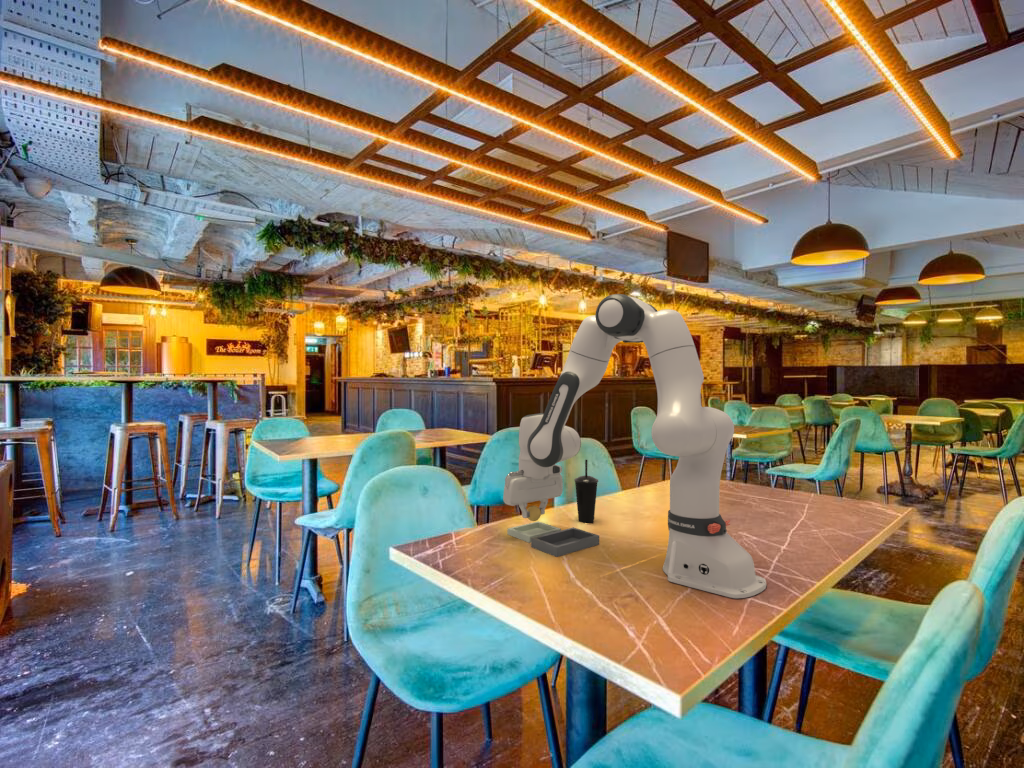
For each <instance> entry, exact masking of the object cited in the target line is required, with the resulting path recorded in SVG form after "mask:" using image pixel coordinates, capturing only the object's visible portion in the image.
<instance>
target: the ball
mask: <svg viewBox="0 0 1024 768" xmlns="http://www.w3.org/2000/svg"><path fill="white" fill-rule="evenodd" d="M526 509H527V511H529V512H530V517H529V518H527V519H528V520H529V521H530V522H537V521H538V520H539V519H540V517H541V516H542V515H541V511H540V509H539V506H536V505H530V506H529V507H528V506H527V508H526Z"/></svg>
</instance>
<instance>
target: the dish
mask: <svg viewBox="0 0 1024 768" xmlns="http://www.w3.org/2000/svg"><path fill="white" fill-rule="evenodd" d="M598 545H599V546H600V535H599V534H596V533H592V532H589V531H586V530H582V529H579V528H576V527H573V526H572V527H569V528H565V529H561V531H557V532H553V533H549V534H545V535H541V536H538V537H534V538H531V543H530V547H531V548H532V549H535V550H538V551H540V552H543V553H544V554H545V553H546V554H547V555H551V556H553V557H556V558H559V557H561V556H565V555H568V554H571V553H572V554H573V553H575V552H578V551H582V550H586V549H589V548H591V547H595V546H598Z"/></svg>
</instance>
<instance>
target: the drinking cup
mask: <svg viewBox="0 0 1024 768" xmlns="http://www.w3.org/2000/svg"><path fill="white" fill-rule="evenodd" d="M584 464H585V465H584V466H585V467H584V473H585V474H584V475H580V476H578V477H575V478H574V479H573V481H574V483H575V485H574V486H575V494H576V495H575V496H576V507H577V517H578V518H577V519H578V522H579V523H582V524H585V523H592V524H593V522H595V512H596V503H597V501H596V500H597V491H598V482H599V479H598V478H597V477H596V478H595V477H594V476H591V475H588V459H585V460H584Z"/></svg>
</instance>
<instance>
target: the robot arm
mask: <svg viewBox="0 0 1024 768" xmlns="http://www.w3.org/2000/svg"><path fill="white" fill-rule="evenodd" d="M689 329H690V328H689V327H688V325H687V323H686V321H685V320H684V317H683V316H682V314H681V313H680V312H678V311H677V310H675V309H660V310H658V309H657V308H655V307H654V306H653V305H652V304H650V303H646V302H645V301H643V300H641V299H640V298H637V297H635V296H630V295H627V294H624V293H623V294H621V293H615V294H614V293H613V294H609V295H608V296H607V295H606V296H605V297H604V298H603V299H601V301H600V302H599V303H598V305H597V307H596V310H595V314H594V315H589V316H587V317H585V318H584V319H583V320H582V321H581V324H580V325H579V327H578V329H577V331H576V333H575V336H574V337H573V339H572V344H571V346H570V349H569V351H568V354H567V358H566V361H565V363H564V366H563V368H562V371H561V373H560V375H559V377H558V380H557V382H556V384H555V385H554V388H553V390H552V393H551V395H550V397H549V399H548V402H547V405H546V406H545V407H546V408H545V410H544V412H542V413H541V412H540V413H534V414H527V415H525V416H523V417H522V418H521V420H520V423H519V431H518V447H519V451H520V452H519V455H518V470H516V471H510V472H509V473H508V474H507V475H506V476H505V478H504V488H503V496H502V497H503V498H502V499H503V503H504V504H505V505H508V506H512V507H513V506H518V507H519V508H520V511H521V516H522V518H523V519H528V518H529V517H530V512H529V511H527V509H528V503H534V502H538V501H539V502H540V504H539V506H538V508H539V509H540V511H541V516H543V515H545V512H546V508H547V506H548V503H549V499H554V498H559V497H561V496H562V494H563V489H564V486H563V485H564V483H563V476H562V472H563V467H562V466H561V465H559V464H558V463H562V462H565V461H567V460H569V459H571V458H574V457H576V456H577V455H578V453H579V452H580V450H581V445H582V441H581V440H582V439H581V437H580V434H579V433H578V431H577V429H574V428H573V427H571V426H568V425H566V423H567V421H568V419H569V416H570V414H571V411H572V408H573V406H574V404H575V403H576V401H578V399H579V398H580V397H581V396H582V395H584V394H585V393H586V392H588V391H590V390H592V389H594V388H595V387H597V386H598V385H599V384H600V382H601V380H602V379H603V377H604V375H605V373H606V371H607V368H608V365H609V362H610V358H611V356H612V352H613V350H614V348H615V347H616V345H618V343H620V342H623V343H624V344H627V343H628V344H631V343H632V344H633V343H637V344H641V343H644V345H645V349H646V352H647V355H648V359H649V363H650V366H651V370H652V374H653V378H654V382H655V386H656V393H657V394H656V395H657V410H656V411H657V412H656V413H657V414H656V417H655V420H654V422H653V423H652V427H651V438H652V439H651V440H652V442H653V444H654V446H655V447H656V448H657V450H659V451H660V452H661V453H663V454H664V455H668V456H672V457H678V461H677V464H676V466H675V469H674V471H673V473H672V474H671V476H670V480H669V510H668V511H667V529H668V541H667V542H668V543H667V549H666V554H665V557H664V558H665V559H664V563H663V566H662V571H663V573H664V574H665V575H667V581H668V582H671V583H674V584H678V585H681V586H685V587H689V588H692V589H696V590H700V591H704V592H707V593H712V594H716V595H720V596H723V597H725V598H730V599H745V598H750V597H754V596H755V595H758V594H761V593H762V592H763V591H764V590H766V588H767V580H766V578H764V577H762V576H760V575H757V574H756V570H755V569H756V568H755V567H756V566H755V563H754V559H753V557H752V555H751V554H750V553H749V552H748V551H747V550H746V549H745V548H744V547H743V546H741V545H740V544H739V543H738V542H737V541H736V539H734V538H733V537H732V536H731V535H730V534H729V533H728V530H727V527H728V526H730V525H731V523H730V522H731V520H730V519H729V520H728V519H727V520H724V518H723V517H722V514H721V513H720V486H721V485H720V484H721V476H722V470H723V467H724V462H725V458H726V454H727V449H728V446H729V444H730V443H731V440H733V439H732V438H733V437H734V434H735V426H734V425H735V424H734V421H733V420H732V418H731V417H730V415H729V414H728V413H726V412H725V411H724V410H723V411H722V410H720V409H718V408H715V407H713V406H712V407H711V406H702V397H701V391H702V390H701V389H702V385H703V383H704V380H705V379H704V377H705V375H704V371H703V369H702V366H701V362H700V359H699V355H698V352H697V348H696V345H695V343H694V340H693V337H692V334H691V331H690V330H689Z"/></svg>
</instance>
